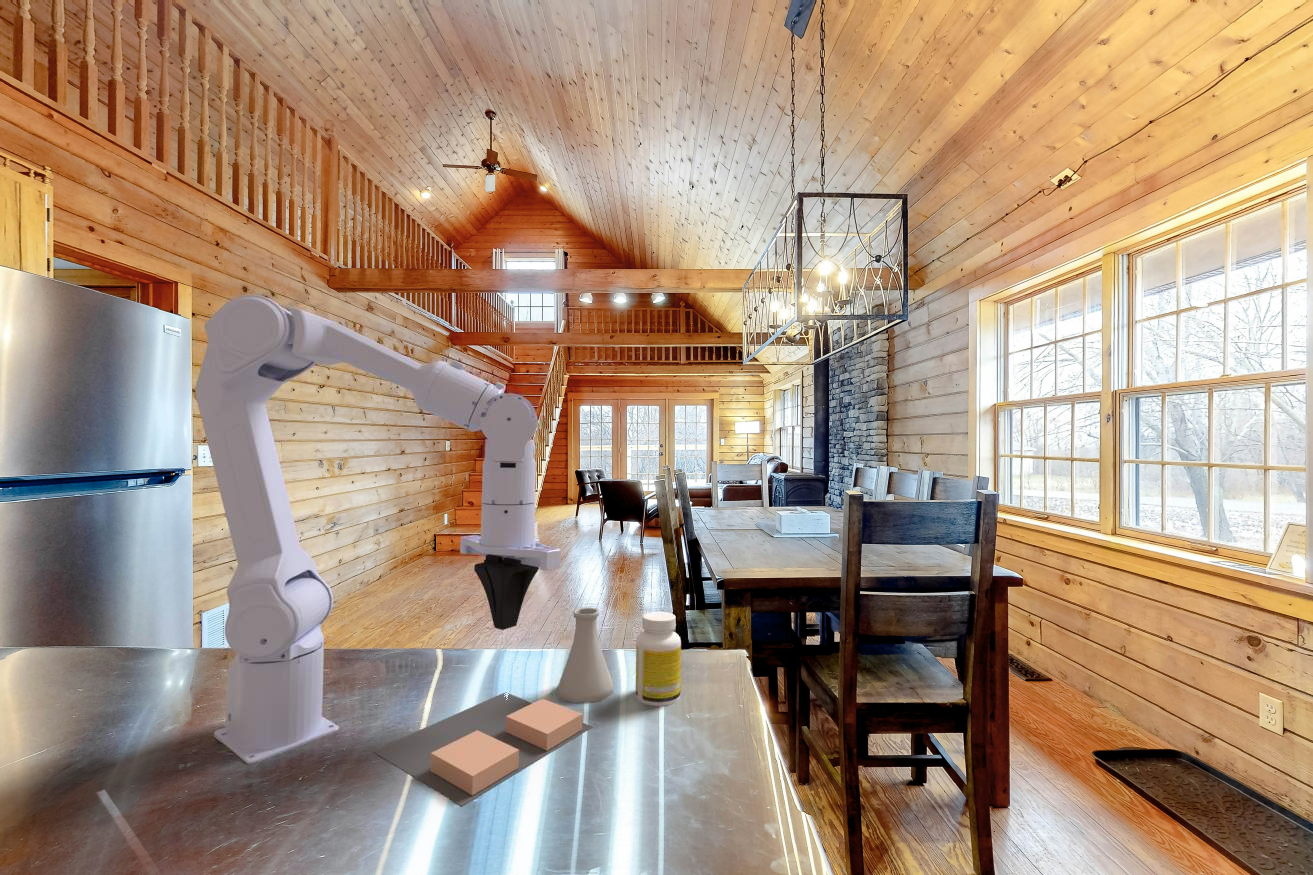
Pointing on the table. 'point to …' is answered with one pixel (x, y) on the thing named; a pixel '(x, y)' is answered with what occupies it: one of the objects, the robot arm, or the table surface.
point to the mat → (483, 717)
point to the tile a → (474, 761)
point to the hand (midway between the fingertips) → (505, 626)
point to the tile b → (544, 723)
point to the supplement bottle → (658, 660)
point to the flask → (585, 663)
